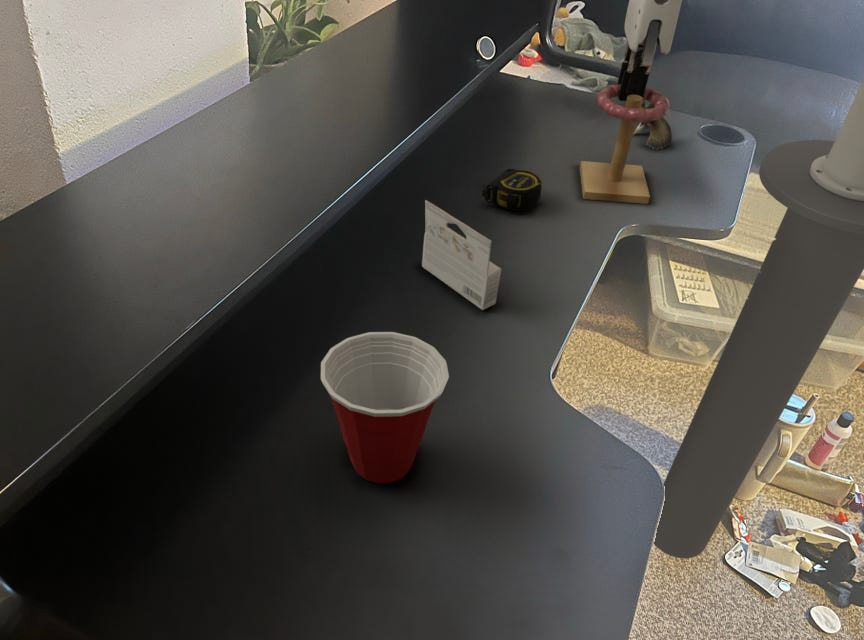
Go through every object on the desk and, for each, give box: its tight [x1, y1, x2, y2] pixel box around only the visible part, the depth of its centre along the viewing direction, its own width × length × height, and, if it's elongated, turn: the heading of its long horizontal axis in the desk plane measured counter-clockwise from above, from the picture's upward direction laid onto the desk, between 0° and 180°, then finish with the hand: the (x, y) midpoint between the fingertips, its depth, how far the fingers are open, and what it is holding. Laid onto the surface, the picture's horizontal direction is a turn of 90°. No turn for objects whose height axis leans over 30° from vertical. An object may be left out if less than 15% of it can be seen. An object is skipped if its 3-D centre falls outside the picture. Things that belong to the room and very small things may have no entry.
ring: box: [596, 83, 670, 123], centre depth 99 cm, size 9×9×2 cm
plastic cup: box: [320, 331, 450, 484], centre depth 66 cm, size 11×11×12 cm
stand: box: [579, 95, 651, 205], centre depth 103 cm, size 9×9×13 cm
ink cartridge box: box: [421, 199, 502, 311], centre depth 86 cm, size 2×11×10 cm, turn 39°
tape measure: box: [481, 168, 543, 211], centre depth 102 cm, size 7×7×4 cm
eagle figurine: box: [633, 97, 673, 151], centre depth 117 cm, size 8×7×9 cm
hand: (628, 95), depth 102 cm, fingers closed on ring, 2 cm apart
